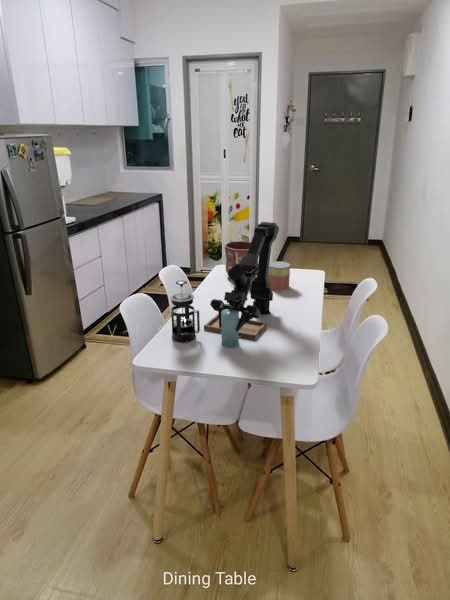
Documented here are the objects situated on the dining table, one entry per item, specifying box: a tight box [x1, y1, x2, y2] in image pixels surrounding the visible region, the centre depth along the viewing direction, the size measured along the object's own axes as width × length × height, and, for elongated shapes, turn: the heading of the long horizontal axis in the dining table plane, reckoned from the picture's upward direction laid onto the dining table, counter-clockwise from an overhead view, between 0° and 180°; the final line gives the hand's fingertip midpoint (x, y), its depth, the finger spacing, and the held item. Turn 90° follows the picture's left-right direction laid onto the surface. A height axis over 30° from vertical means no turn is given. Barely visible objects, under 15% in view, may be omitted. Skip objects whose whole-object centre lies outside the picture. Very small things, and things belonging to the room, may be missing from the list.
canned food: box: [268, 260, 291, 292], centre depth 219 cm, size 11×11×12 cm
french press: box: [169, 280, 201, 344], centre depth 165 cm, size 12×9×23 cm
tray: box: [203, 313, 268, 341], centre depth 176 cm, size 13×22×2 cm, turn 64°
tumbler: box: [220, 309, 240, 349], centre depth 162 cm, size 7×7×13 cm
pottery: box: [224, 240, 251, 280], centre depth 233 cm, size 18×18×18 cm
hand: (228, 329), depth 160 cm, fingers open, 7 cm apart
